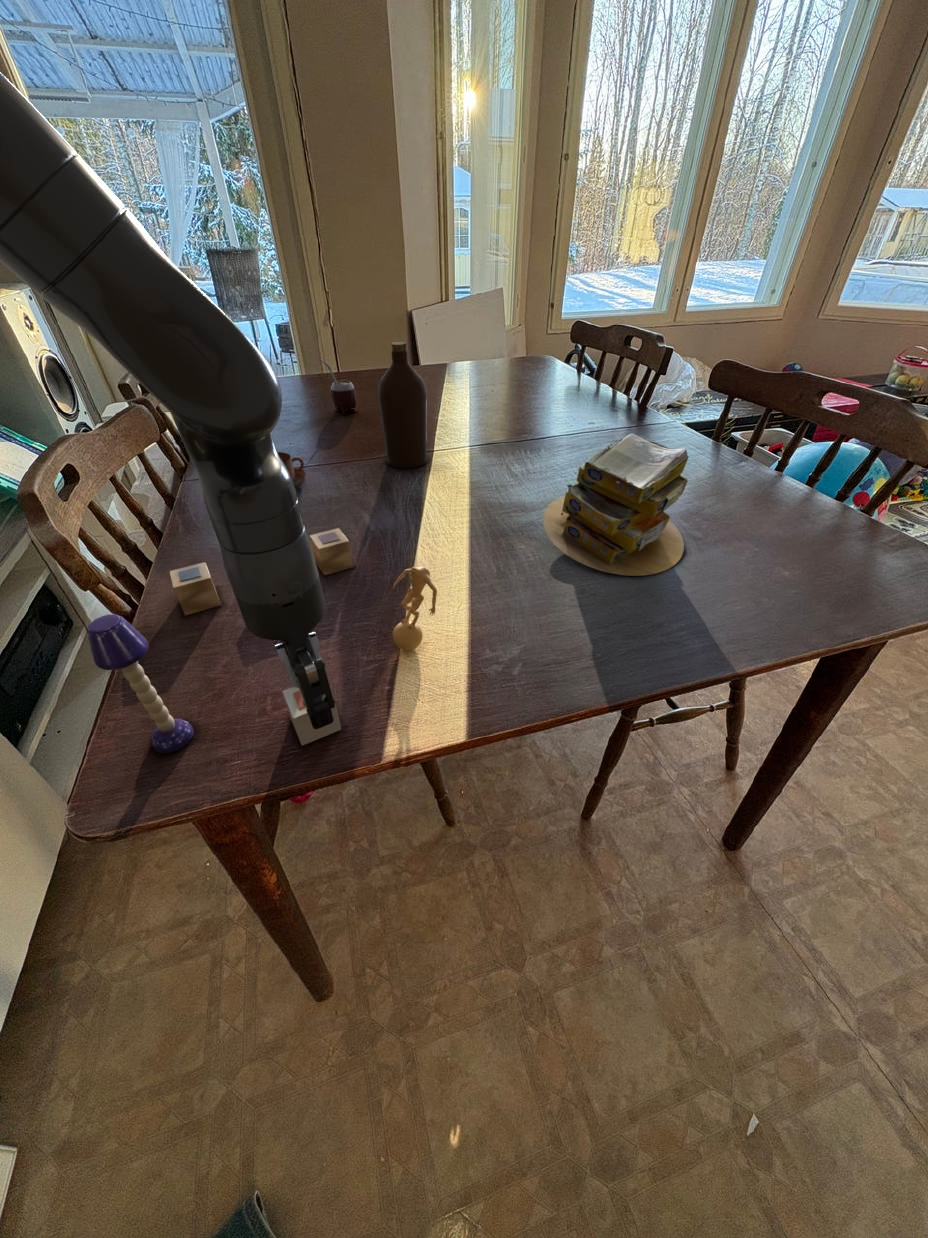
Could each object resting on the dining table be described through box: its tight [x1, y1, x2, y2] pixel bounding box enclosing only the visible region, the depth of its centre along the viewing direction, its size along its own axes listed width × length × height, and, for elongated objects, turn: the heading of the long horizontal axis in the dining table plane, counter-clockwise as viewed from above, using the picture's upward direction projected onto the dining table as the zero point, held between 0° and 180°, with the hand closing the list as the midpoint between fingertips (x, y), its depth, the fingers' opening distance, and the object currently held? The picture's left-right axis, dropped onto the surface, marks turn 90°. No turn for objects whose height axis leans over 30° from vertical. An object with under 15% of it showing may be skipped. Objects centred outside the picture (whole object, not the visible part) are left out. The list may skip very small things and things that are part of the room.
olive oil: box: [377, 341, 428, 469], centre depth 113 cm, size 11×11×25 cm
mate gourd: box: [318, 358, 357, 416], centre depth 146 cm, size 8×8×15 cm
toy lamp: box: [86, 613, 195, 754], centre depth 52 cm, size 5×5×17 cm
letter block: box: [281, 686, 342, 746], centre depth 58 cm, size 5×5×5 cm
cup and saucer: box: [277, 451, 308, 490], centre depth 108 cm, size 12×12×6 cm
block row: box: [169, 527, 354, 616], centre depth 80 cm, size 26×5×5 cm, turn 120°
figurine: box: [392, 565, 438, 651], centre depth 66 cm, size 8×6×12 cm
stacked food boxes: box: [542, 432, 689, 577], centre depth 87 cm, size 25×25×17 cm
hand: (311, 698), depth 56 cm, fingers open, 8 cm apart
